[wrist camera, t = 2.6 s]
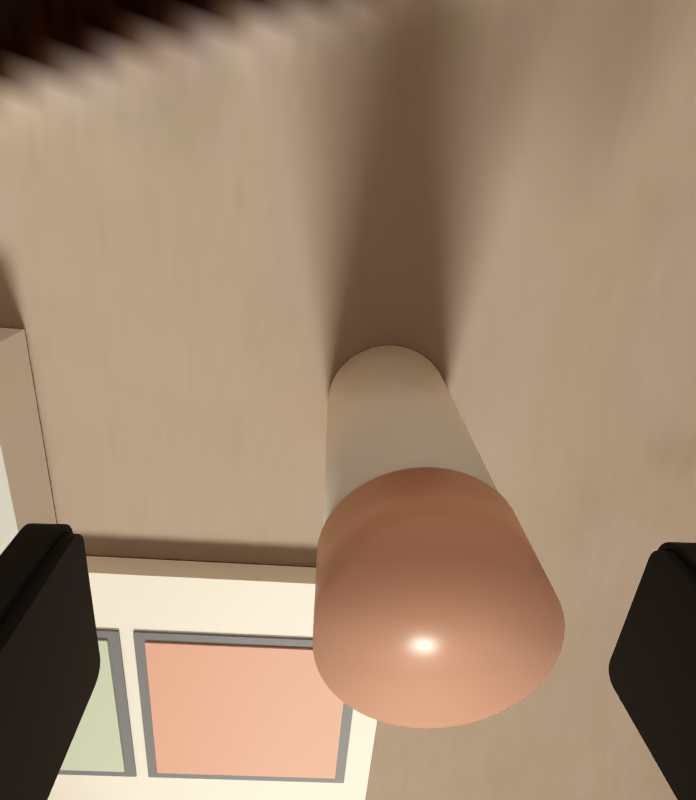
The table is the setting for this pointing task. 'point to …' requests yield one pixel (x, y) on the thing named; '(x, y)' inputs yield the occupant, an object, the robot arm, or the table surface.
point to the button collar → (20, 443)
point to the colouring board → (211, 690)
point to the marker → (421, 558)
